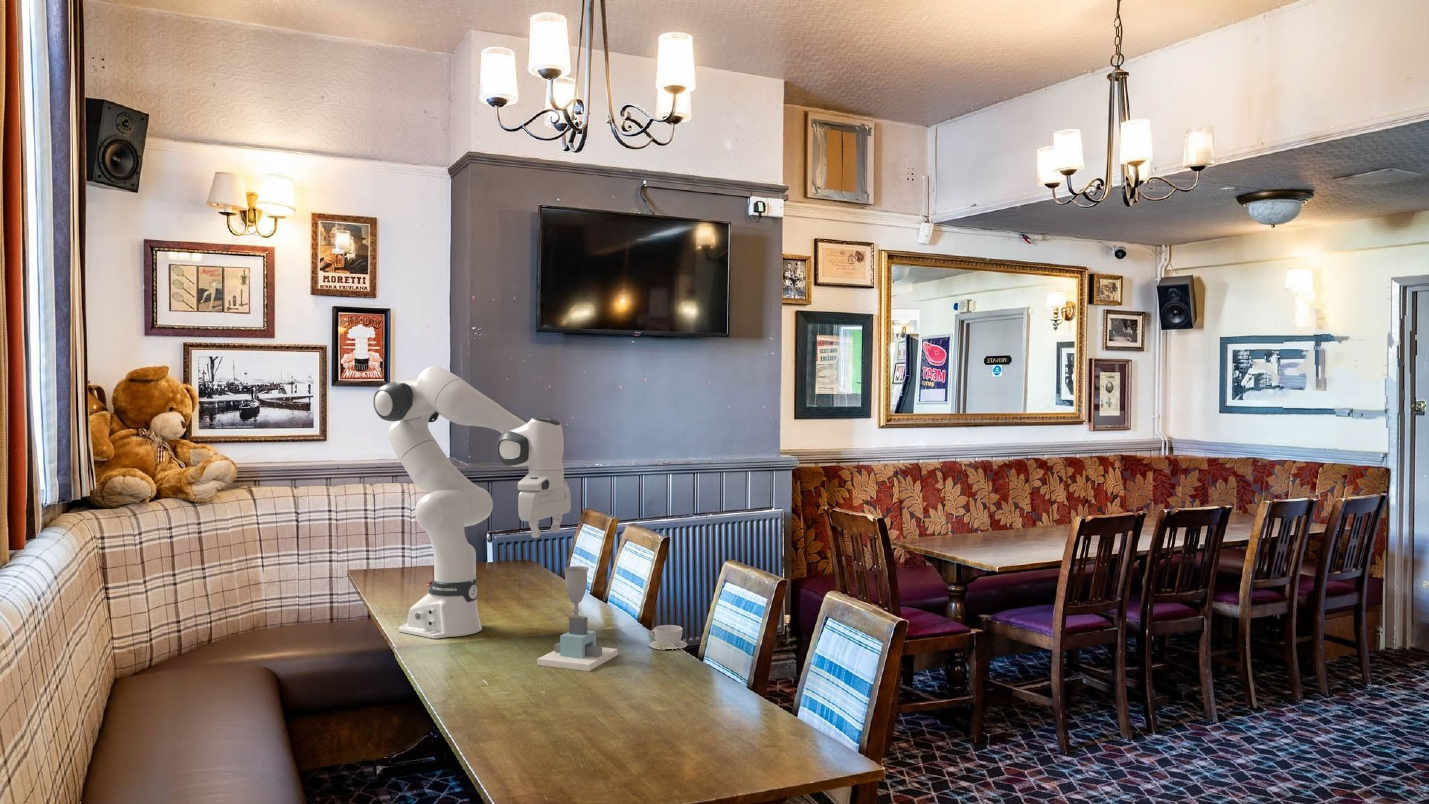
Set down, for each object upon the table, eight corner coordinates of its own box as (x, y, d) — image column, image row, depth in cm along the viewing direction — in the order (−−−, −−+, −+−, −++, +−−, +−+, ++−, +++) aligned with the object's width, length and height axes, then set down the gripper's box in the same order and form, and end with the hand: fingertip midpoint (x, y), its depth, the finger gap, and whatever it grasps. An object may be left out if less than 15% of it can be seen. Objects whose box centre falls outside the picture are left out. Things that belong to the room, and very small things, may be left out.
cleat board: (537, 665, 234) (537, 650, 234) (568, 649, 248) (568, 635, 248) (588, 671, 229) (588, 656, 229) (617, 655, 243) (617, 641, 243)
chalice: (583, 639, 258) (583, 571, 258) (559, 638, 259) (559, 570, 259) (592, 632, 265) (592, 566, 265) (568, 631, 267) (568, 565, 266)
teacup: (693, 643, 255) (693, 626, 255) (677, 653, 246) (677, 634, 246) (659, 639, 259) (659, 622, 259) (642, 649, 250) (642, 630, 250)
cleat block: (560, 656, 237) (560, 619, 236) (574, 649, 243) (574, 613, 243) (582, 658, 234) (582, 621, 234) (595, 651, 241) (595, 615, 241)
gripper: (556, 476, 260) (555, 528, 260) (513, 483, 241) (513, 539, 241) (576, 477, 257) (576, 530, 258) (536, 484, 238) (535, 541, 239)
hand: (545, 534), depth 249 cm, fingers open, 8 cm apart
